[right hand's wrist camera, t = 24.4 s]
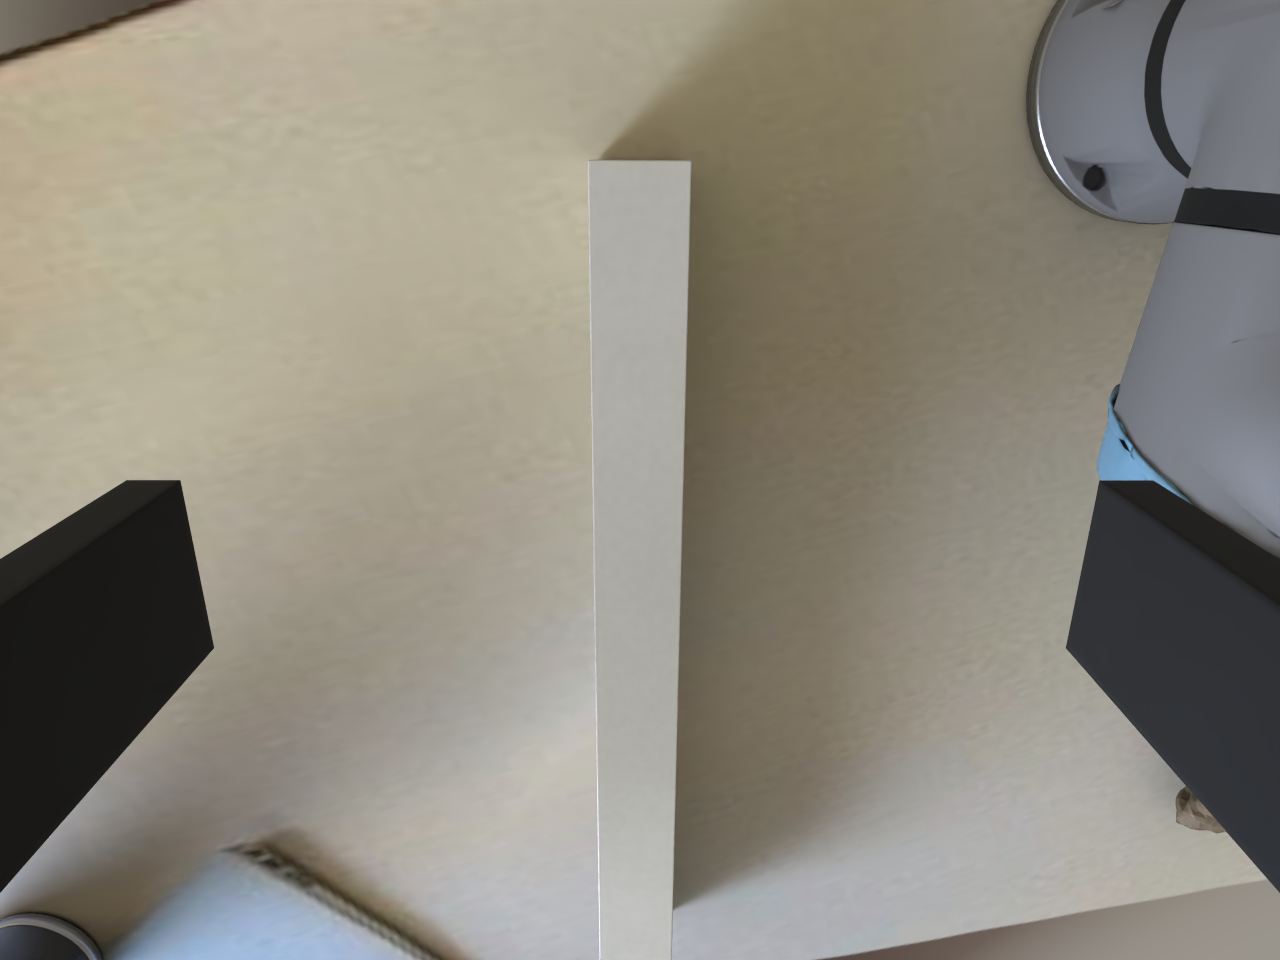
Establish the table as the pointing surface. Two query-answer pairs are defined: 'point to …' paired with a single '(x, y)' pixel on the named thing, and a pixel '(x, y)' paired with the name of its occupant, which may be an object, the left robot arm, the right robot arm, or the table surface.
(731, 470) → the table surface
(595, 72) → the table surface
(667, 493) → the beam
